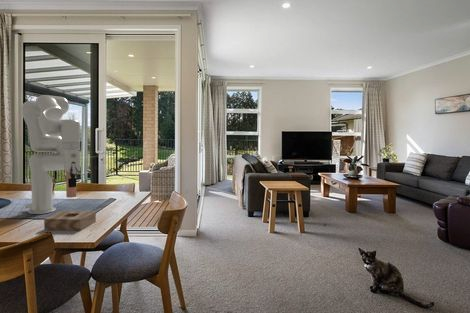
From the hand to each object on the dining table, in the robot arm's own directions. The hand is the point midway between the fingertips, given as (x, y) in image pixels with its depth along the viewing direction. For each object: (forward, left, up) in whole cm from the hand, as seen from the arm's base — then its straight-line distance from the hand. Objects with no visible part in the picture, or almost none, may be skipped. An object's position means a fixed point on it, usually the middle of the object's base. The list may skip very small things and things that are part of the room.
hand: (71, 186), depth 134 cm
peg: (0, 0, -5) cm, 5 cm away
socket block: (0, 0, -19) cm, 19 cm away
